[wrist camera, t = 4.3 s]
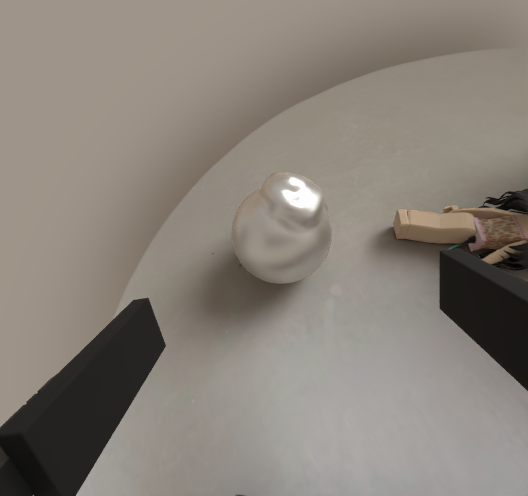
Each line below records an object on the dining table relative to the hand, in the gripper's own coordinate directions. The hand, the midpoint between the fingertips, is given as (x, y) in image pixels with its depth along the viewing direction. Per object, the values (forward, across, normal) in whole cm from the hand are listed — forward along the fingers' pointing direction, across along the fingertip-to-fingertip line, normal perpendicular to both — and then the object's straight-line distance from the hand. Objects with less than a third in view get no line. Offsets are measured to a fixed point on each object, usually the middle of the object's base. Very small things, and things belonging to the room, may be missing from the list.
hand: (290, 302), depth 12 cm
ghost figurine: (+16, 0, -3) cm, 16 cm away
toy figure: (+14, +18, -5) cm, 23 cm away
